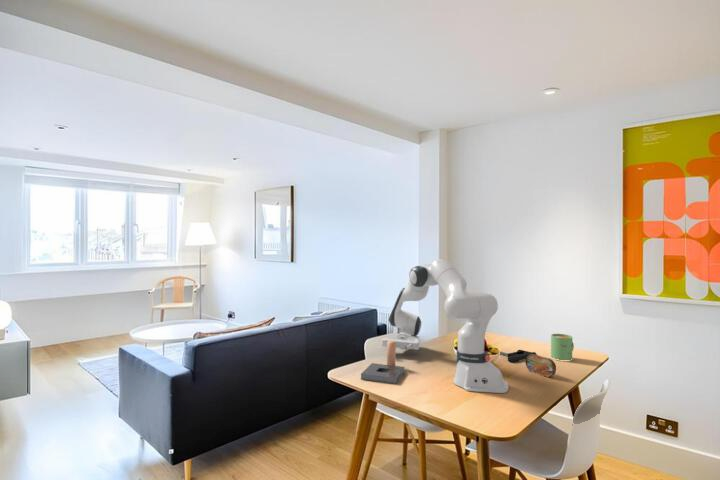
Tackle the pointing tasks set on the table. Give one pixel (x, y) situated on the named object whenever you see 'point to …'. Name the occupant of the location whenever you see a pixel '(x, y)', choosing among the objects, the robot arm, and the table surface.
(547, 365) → the tin
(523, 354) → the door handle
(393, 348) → the pin
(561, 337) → the mug
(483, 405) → the table surface
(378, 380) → the socket plate
